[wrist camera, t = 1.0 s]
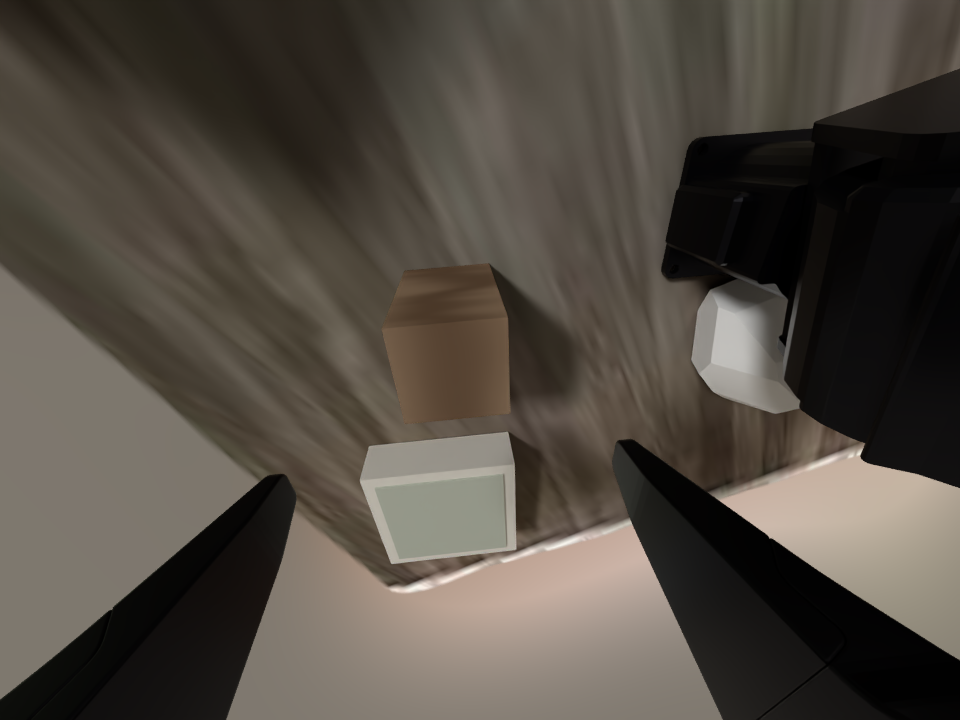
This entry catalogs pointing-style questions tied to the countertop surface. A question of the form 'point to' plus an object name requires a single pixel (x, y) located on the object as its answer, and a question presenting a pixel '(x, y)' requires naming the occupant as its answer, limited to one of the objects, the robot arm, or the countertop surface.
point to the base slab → (442, 496)
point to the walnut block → (449, 344)
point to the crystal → (743, 346)
